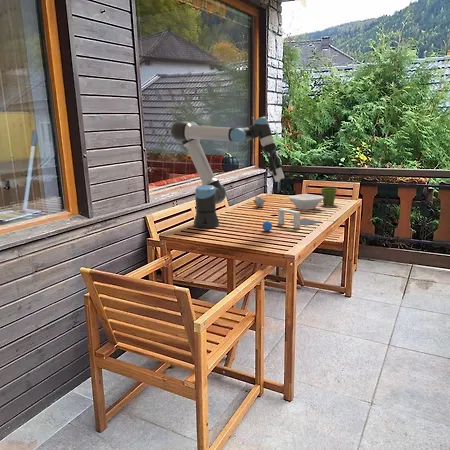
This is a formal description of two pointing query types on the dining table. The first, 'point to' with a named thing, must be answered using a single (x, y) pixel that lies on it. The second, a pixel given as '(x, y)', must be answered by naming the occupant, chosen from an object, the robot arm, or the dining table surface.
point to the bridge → (296, 213)
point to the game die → (259, 201)
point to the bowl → (306, 201)
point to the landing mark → (307, 221)
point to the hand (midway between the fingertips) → (280, 179)
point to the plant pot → (328, 195)
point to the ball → (267, 225)
